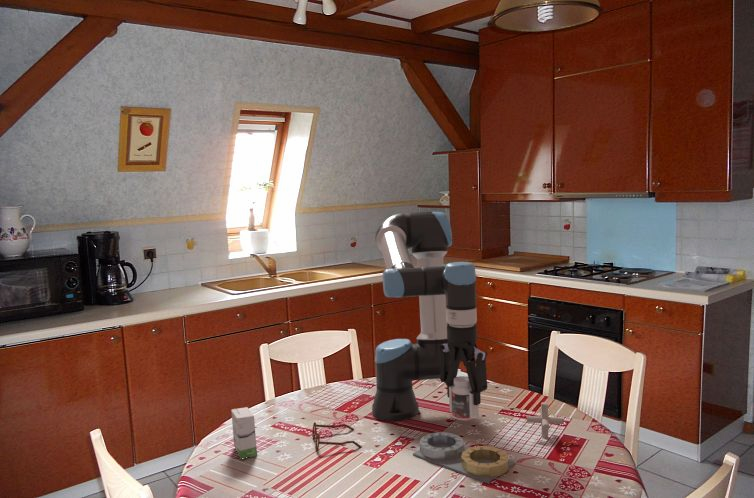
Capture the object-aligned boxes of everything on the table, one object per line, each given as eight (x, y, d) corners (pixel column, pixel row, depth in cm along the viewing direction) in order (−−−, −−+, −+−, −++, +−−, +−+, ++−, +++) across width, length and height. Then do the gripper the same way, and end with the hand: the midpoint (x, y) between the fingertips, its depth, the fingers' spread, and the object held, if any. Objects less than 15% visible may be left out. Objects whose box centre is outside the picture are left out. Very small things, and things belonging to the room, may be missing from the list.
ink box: (257, 456, 165) (255, 415, 163) (240, 460, 162) (237, 419, 161) (250, 444, 172) (247, 405, 171) (233, 448, 170) (230, 408, 169)
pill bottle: (447, 416, 151) (446, 379, 150) (462, 410, 155) (461, 373, 154) (465, 423, 147) (463, 384, 146) (479, 416, 150) (478, 378, 149)
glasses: (311, 436, 177) (310, 420, 177) (354, 430, 180) (353, 414, 180) (316, 455, 165) (315, 438, 164) (362, 449, 167) (361, 432, 167)
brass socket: (452, 467, 153) (452, 457, 152) (478, 451, 161) (478, 442, 161) (491, 481, 145) (491, 471, 144) (517, 464, 153) (516, 454, 153)
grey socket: (411, 451, 162) (411, 442, 162) (438, 437, 171) (437, 429, 171) (446, 464, 154) (445, 455, 154) (472, 448, 163) (471, 440, 162)
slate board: (412, 455, 161) (412, 453, 161) (442, 439, 171) (441, 437, 171) (487, 483, 145) (487, 481, 145) (515, 463, 154) (515, 462, 154)
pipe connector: (565, 445, 163) (564, 410, 162) (527, 443, 165) (527, 409, 164) (561, 430, 173) (561, 397, 172) (526, 429, 175) (525, 396, 174)
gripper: (423, 321, 152) (426, 408, 155) (483, 332, 139) (485, 427, 141) (442, 316, 157) (445, 400, 160) (501, 326, 144) (503, 418, 146)
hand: (464, 413), depth 150 cm, fingers closed on pill bottle, 6 cm apart
